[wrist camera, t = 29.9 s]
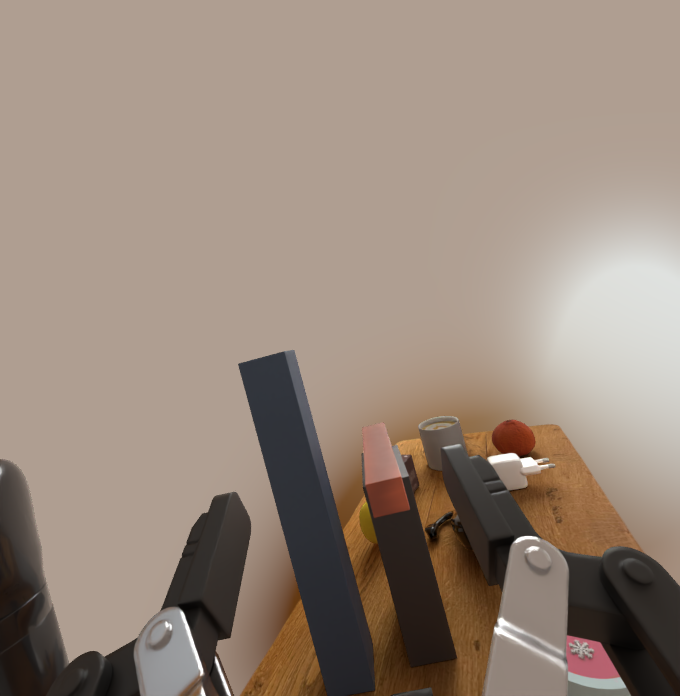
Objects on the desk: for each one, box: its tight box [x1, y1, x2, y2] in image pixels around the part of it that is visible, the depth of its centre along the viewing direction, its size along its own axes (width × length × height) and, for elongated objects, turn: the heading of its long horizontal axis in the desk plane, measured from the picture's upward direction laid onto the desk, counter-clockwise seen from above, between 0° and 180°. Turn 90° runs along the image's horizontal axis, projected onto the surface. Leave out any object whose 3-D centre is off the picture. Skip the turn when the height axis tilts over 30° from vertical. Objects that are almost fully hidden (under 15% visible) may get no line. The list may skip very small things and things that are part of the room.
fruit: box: [492, 420, 535, 456], centre depth 74 cm, size 9×9×8 cm
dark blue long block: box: [238, 350, 375, 696], centre depth 35 cm, size 5×5×36 cm
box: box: [401, 455, 419, 493], centre depth 70 cm, size 6×6×7 cm
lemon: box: [359, 502, 378, 544], centre depth 55 cm, size 6×6×8 cm
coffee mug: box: [418, 416, 468, 471], centre depth 80 cm, size 13×10×10 cm
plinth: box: [362, 445, 457, 667], centre depth 38 cm, size 5×10×20 cm, turn 177°
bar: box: [362, 422, 410, 518], centre depth 36 cm, size 3×18×3 cm, turn 177°
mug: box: [566, 635, 631, 696], centre depth 26 cm, size 14×9×10 cm
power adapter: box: [487, 453, 555, 490], centre depth 61 cm, size 11×5×6 cm, turn 77°
